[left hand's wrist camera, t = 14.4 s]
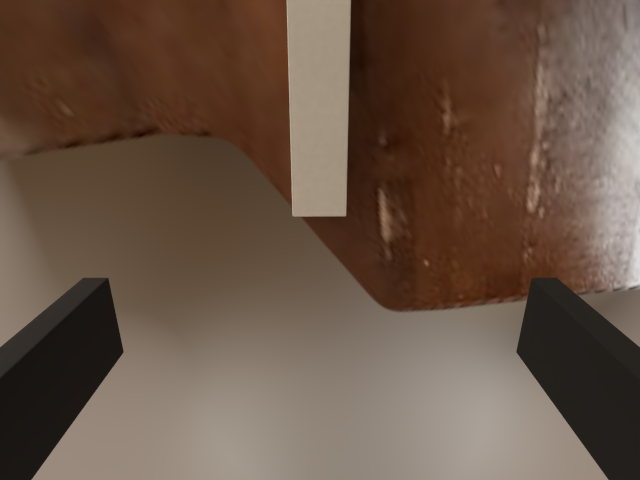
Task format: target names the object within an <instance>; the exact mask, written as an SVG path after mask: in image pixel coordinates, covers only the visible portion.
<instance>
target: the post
mask: <svg viewBox="0 0 640 480" xmlns="http://www.w3.org/2000/svg"><path fill="white" fill-rule="evenodd" d="M350 22H351V0H287V27H288V65H289V102H290V139H291V177H292V214H293V216H346V201H347V156H348V112H349V67H350Z"/></svg>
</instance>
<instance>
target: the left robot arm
mask: <svg viewBox="0 0 640 480" xmlns="http://www.w3.org/2000/svg"><path fill="white" fill-rule="evenodd" d="M122 353H123V347H122V342H121V338H120V333H119V328H118V323H117V318H116V313H115V309H114V304H113V299H112V294H111V289H110V285H109V280H108V278H83V279H82V280H80V281H79V282H78V283H77V284H76V285H74V286H73V287H72V288H71V289H70V290H68V291H67V292H66V293H65V294H64V295H62V296H61V297H60V298H59V299H58V300H56V301H55V302H54V303H53V304H52V305H50V306H49V307H48V308H47V309H46V310H44V311H43V312H42V313H41V314H40V315H38V316H37V317H36V318H35V319H34V320H33V321H31V322H30V323H29V324H28V325H27V326H25V327H24V328H23V329H22V330H21V331H19V332H18V333H17V334H16V335H15V336H13V337H12V338H11V339H10V340H9V341H7V342H6V343H5V344H4V345H3V346H1V347H0V480H31V479H32V478H33V477H34V475H35V474H36V473H37V471H38V470H39V468H40V467H41V466H42V464H43V463H44V461H45V460H46V459H47V457H48V456H49V455H50V453H51V452H52V450H53V449H54V448H55V446H56V445H57V443H58V442H59V441H60V439H61V438H62V437H63V435H64V434H65V432H66V431H67V430H68V428H69V427H70V425H71V424H72V423H73V421H74V420H75V419H76V417H77V416H78V414H79V413H80V412H81V410H82V409H83V408H84V406H85V405H86V403H87V402H88V401H89V399H90V398H91V396H92V395H93V394H94V392H95V391H96V390H97V388H98V387H99V385H100V384H101V383H102V381H103V380H104V378H105V377H106V376H107V374H108V373H109V372H110V370H111V369H112V367H113V366H114V365H115V363H116V362H117V360H118V359H119V358H120V356H121V355H122ZM517 353H518V355H519V356H520V358H521V359H522V360H523V362H524V363H525V365H526V366H527V367H528V369H529V370H530V372H531V373H532V374H533V376H534V377H535V378H536V380H537V381H538V383H539V384H540V385H541V387H542V388H543V389H544V391H545V392H546V394H547V395H548V396H549V398H550V399H551V401H552V402H553V403H554V405H555V406H556V408H557V409H558V410H559V412H560V413H561V414H562V416H563V417H564V419H565V420H566V421H567V423H568V424H569V425H570V427H571V428H572V430H573V431H574V432H575V434H576V435H577V436H578V438H579V439H580V441H581V442H582V443H583V445H584V446H585V448H586V449H587V450H588V452H589V453H590V455H591V456H592V457H593V459H594V460H595V461H596V463H597V464H598V465H599V467H600V468H601V470H602V471H603V472H604V474H605V475H606V477H607V478H608V479H609V480H640V347H639V346H637V345H636V344H635V343H634V342H633V341H631V340H630V339H629V338H628V337H627V336H625V335H624V334H623V333H622V332H621V331H619V330H618V329H617V328H616V327H615V326H613V325H612V324H611V323H610V322H609V321H608V320H606V319H605V318H604V317H603V316H602V315H600V314H599V313H598V312H597V311H596V310H594V309H593V308H592V307H591V306H590V305H588V304H587V303H586V302H585V301H584V300H582V299H581V298H580V297H579V296H578V295H576V294H575V293H574V292H573V291H572V290H570V289H569V288H568V287H567V286H566V285H564V284H563V283H562V282H561V281H560V280H558V279H557V278H532V280H531V284H530V289H529V294H528V299H527V304H526V309H525V313H524V318H523V323H522V328H521V333H520V338H519V342H518V347H517Z"/></svg>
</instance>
